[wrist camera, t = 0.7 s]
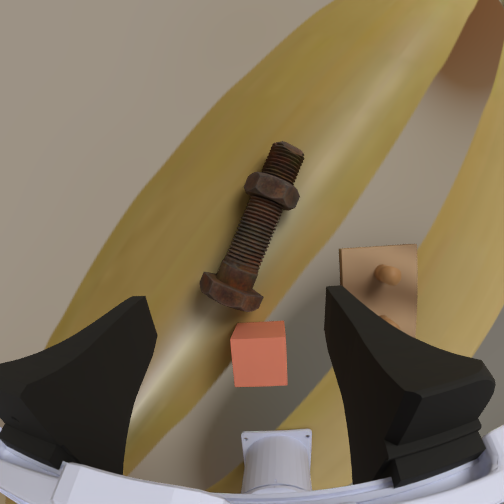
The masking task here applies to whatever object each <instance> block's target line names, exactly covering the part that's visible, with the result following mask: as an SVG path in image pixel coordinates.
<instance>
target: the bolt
mask: <svg viewBox="0 0 504 504" xmlns="http://www.w3.org/2000/svg"><path fill="white" fill-rule="evenodd" d="M303 156H304V154H303V152H302V151H301V150H300V149H298V148H296V147H294V146H292V145H291V144H289V143H287V142H283V141H282V142H276V143H273V145H272V147H271V150H270V153H269V156H267V159H266V162H265V164H264V166H263V169H262V172H254V173H252V174H251V175H249V176H248V178H247V181H246V183H245V185H244V189H245V191H246V193H247V194H248V195H250V198H251V199H250V200H249V202H250V203H247V204H248V206H247V207H246V209H247V210H244V211H245V213H244V214H243V216H244V217H241V218H242V220H241V221H240V222H241V224H238V225H239V226H240V227H238V228H237V229H238V230H239V231H236V233H237V234H235V235H234V236H235V237H236V238H233V240H234V241H233V242H231V243H232V245H230V247H231V248H229V249H228V250H229V251H230V252H227V254H228V255H227V256H225V259H224V260H223V261H222V263H221V266H220V268H219V271H218V273H217V274H213V273H208V272H204V273H203V275H202V278H201V281H200V288H201V291H202V292H203V293H204V294H205V295H207V296H208V297H210V298H211V299H213V300H215V301H217V302H218V303H220V304H222V305H225V306H228V307H231V308H234V309H237V310H241V311H246V312H251V311H254V310H256V309H258V308H259V306H260V304H261V301H262V299H263V296H261V295H260V294H259V293H257V292H256V291H255V290H253V289H252V288H253V285H254V283H255V281H256V278H257V276H258V269H259V265H261V263H260V262H262V259H261V258H264V256H263V255H265V252H264V251H267V249H266V247H269V246H268V245H267V244H270V242H269V240H271V238H270V237H273V236H272V234H273V233H274V232H273V230H276V229H275V228H274V227H276V226H277V225H276V223H278V221H277V220H278V219H280V218H279V217H278V216H281V214H280V213H282V209H283V210H291V209H293V208H295V207H296V205H297V202H298V200H299V197H300V196H299V193H298V190H297V189H296V188H295V187H294V186H293V185H294V184H293V182H295V179H296V176H298V174H297V173H299V169H300V166H301V165H302V164H301V163H303V160H304V157H303Z"/></svg>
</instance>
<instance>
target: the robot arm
mask: <svg viewBox="0 0 504 504" xmlns="http://www.w3.org/2000/svg"><path fill="white" fill-rule="evenodd" d="M325 305H326V306H325V324H324V330H325V337H326V342H327V348H328V352H329V355H330V359H331V362H332V365H333V369H334V372H335V375H336V378H337V382H338V385H339V388H340V391H341V395H342V399H343V403H344V409H345V416H346V422H347V429H348V437H349V445H350V454H351V465H352V480H353V485H350V486H344V487H338V488H331V489H323V490H315V491H312V486H311V477H310V464H311V441H312V431H311V430H310V429H297V430H280V431H244V432H242V434H241V439H242V448H243V456H244V464H245V469H244V476H243V482H242V489H241V494H231V493H212V492H206V491H203V490H200V489H194V488H188V487H183V486H178V485H172V484H165V483H159V482H153V481H147V480H141V479H137V478H132V477H128V476H123V462H124V453H125V446H126V439H127V433H128V428H129V423H130V418H131V414H132V410H133V406H134V402H135V399H136V396H137V394H138V391H139V389H140V386H141V384H142V381H143V379H144V376H145V374H146V371H147V369H148V366H149V363H150V361H151V358H152V356H153V352H154V348H155V344H156V339H157V332H156V329H155V326H154V323H153V320H152V317H151V314H150V310H149V307H148V304H147V300H146V297H145V296H132V297H130V298H128V299H127V300H125V301H124V302H122V303H121V304H119V305H118V306H116V307H115V308H113V309H112V310H111V311H109V312H108V313H106V314H105V315H104V316H102V317H101V318H99V319H98V320H96V321H95V322H93V323H92V324H90V325H89V326H87V327H86V328H84V329H83V330H81V331H80V332H78V333H77V334H75V335H73V336H72V337H70V338H68V339H66V340H64V341H62V342H61V343H59V344H57V345H54V346H52V347H50V348H48V349H45V350H43V351H41V352H38V353H36V354H33V355H30V356H27V357H24V358H21V359H18V360H14V361H10V362H5V363H1V364H0V418H1V419H2V420H3V422H4V423H5V425H4V427H3V428H1V427H0V492H1V493H3V494H4V495H5V496H7V497H8V498H10V499H12V500H13V501H15V502H16V503H18V504H503V503H504V425H502V426H500V427H498V428H496V429H494V430H492V431H490V432H489V433H487V434H486V435H484V436H483V437H482V438H481V436H480V434H479V432H478V431H479V430H480V429H481V424H480V421H479V419H478V417H479V416H480V414H481V413H482V411H483V410H484V408H485V407H486V405H487V404H488V402H489V401H490V399H491V397H492V395H493V393H494V388H495V380H494V378H493V376H492V375H491V373H490V372H489V370H488V369H487V368H486V366H485V364H484V363H483V362H482V360H478V359H474V358H470V357H465V356H461V355H457V354H454V353H451V352H448V351H445V350H442V349H439V348H436V347H434V346H431V345H429V344H427V343H424V342H422V341H420V340H418V339H416V338H414V337H412V336H410V335H408V334H406V333H404V332H403V331H401V330H399V329H397V328H396V327H394V326H393V325H391V324H390V323H388V322H387V321H385V320H384V319H382V318H381V317H380V316H378V315H377V314H376V313H374V312H373V311H372V310H370V309H369V308H368V307H367V306H365V305H364V304H363V303H362V302H361V301H359V300H358V299H357V298H356V297H355V296H354V295H352V294H351V293H350V292H349V291H348V290H347V289H345V288H344V287H343V286H342V285H340V286H328V287H326V304H325ZM306 435H309V436H307V437H306ZM244 438H248V439H244Z"/></svg>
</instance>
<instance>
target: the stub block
mask: <svg viewBox="0 0 504 504" xmlns="http://www.w3.org/2000/svg"><path fill="white" fill-rule="evenodd" d="M339 262H340V285H342V286H343V287H344V288H345V289H347V290H348V291H349V292H350V293H351V294H352V295H354V296H355V297H356V298H357V299H358V300H359V301H361V302H362V303H363V304H364V305H365V306H367V307H368V308H369V309H370V310H372V311H373V312H374V313H376V314H377V315H378V316H380V317H381V318H382V319H384V320H385V321H387V322H388V323H390V324H391V325H393V326H394V327H396V328H397V329H399V330H401V331H403V332H404V333H406V334H408V335H410V336H412V337H414V338H415V332H416V316H417V245H416V244H403V245H388V246H373V247H358V248H344V249H339Z"/></svg>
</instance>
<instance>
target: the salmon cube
mask: <svg viewBox="0 0 504 504" xmlns="http://www.w3.org/2000/svg"><path fill="white" fill-rule="evenodd" d="M230 342H231V353H232V363H233V373H234V383H235V387H254V386H255V387H258V386H282V385H287V360H286V335H285V326H284V321H272V322H250V323H237V325H236V327H235V330H234V332H233V334H232V336H231V339H230Z"/></svg>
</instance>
